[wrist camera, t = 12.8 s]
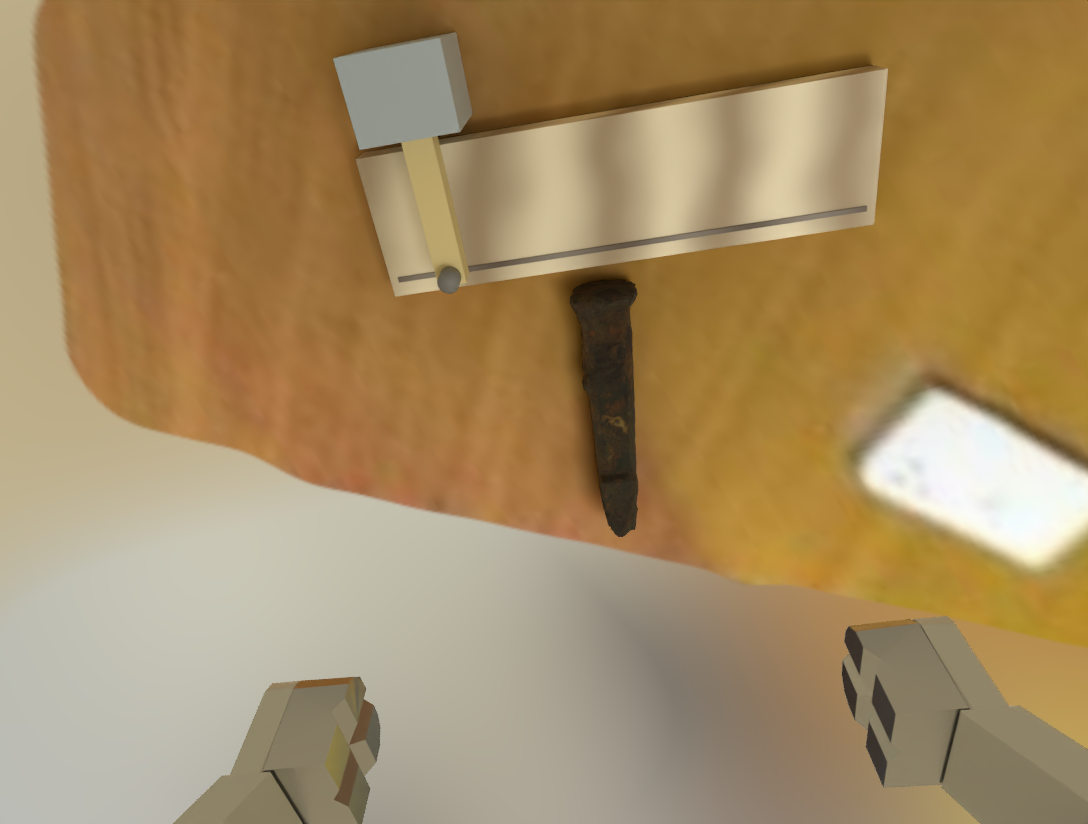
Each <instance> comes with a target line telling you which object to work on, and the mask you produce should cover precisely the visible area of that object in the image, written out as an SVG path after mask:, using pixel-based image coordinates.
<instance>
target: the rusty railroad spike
mask: <svg viewBox="0 0 1088 824" xmlns="http://www.w3.org/2000/svg"><path fill="white" fill-rule="evenodd" d="M636 296H637V289H636V288H635V284H634V283H632V282H627V281H625V280H614V281H613V280H610V281H609V280H601V281H594V282H590V283H587V284H583V285H580V286H578V287H576V288H575V289H574V290H573V294H572V296H571V297H570V304H571V307H572V308H573V310H574V311H575V313H576V314H577V318H578V320H579V322H580V324H581V336H582V346H581V347H582V357H583V362H582V368H583V370H584V376H583V381H582V383H583V387H584V389H585V390H586V391H587V393H588V396H589V403H590V408H591V417H592V424H593V433H594V442H595V451H596V461H597V469H598V474H599V483H600V492H601V498H602V503H603V507H604V511H605V515H606V518H607V522H608V525H609V526H610V527H611V529H612V530H613V531H614V533H615V535H617V536H618V537H623V536H625V535H626V534H627V533H628V532H629V531H631V530H633V529H634V530H635V527H636V516H637V510H638V508H637V505H636V503H637V494H638V479H637V475H636V448H635V407H634V380H633V355H632V329H631V322H630V306H631V305H632V304H633V302H634V301H635V299H636Z"/></svg>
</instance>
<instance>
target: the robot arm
mask: <svg viewBox="0 0 1088 824" xmlns="http://www.w3.org/2000/svg"><path fill="white" fill-rule="evenodd" d="M844 642H845V644H846V647H847V649H848V651H849V653H850V654H849V655H847V657H845V658H844V659H843V661H842V678H843V686H844V691H845V695H846V698H847V702H848V705H849V707H850V710H851V712H852V715H853V717H854V720H855V721H857V722H858V723H859V724H860V725H862V726H863V727H864V728H865V729H867V730H868V733H867V741H866V748H867V750H868V753H869V755H870V757H871V760H872V762H873V764H874V767H875V769H876V771H877V774H878V776H879V778H880V781H881V783H882V785H883V787H884V788H887V787H905V786H924V785H942V789H944V790H945V791H946V792H947V793H948V794H949V795H950V796H951V797H952V798H953V799H955V801H957V802H958V803H959V804H960V805H961V806H962V807H963V808H964V809H965V810H966V811H968V812H969V813H970V814H971V815H972V816H973V817H974V818H975V819H976V820H977V821H978V822H979V823H981V824H1088V749H1087V748H1085V747H1083V746H1082V745H1080V744H1079V743H1077V742H1075V741H1074V740H1073V739H1071V738H1070V737H1068V736H1067V735H1065V734H1063V733H1062V732H1060V731H1059V730H1057V729H1056V728H1054V727H1052V726H1051V725H1049V724H1048V723H1046V722H1045V721H1043V720H1042V719H1040V718H1038V717H1037V716H1035V715H1034V714H1032V713H1031V712H1029V711H1028V710H1026V709H1024V708H1023V707H1021V706H1009V705H1008V703H1007V702H1006V700H1005V699H1004V697H1003V696H1002V694H1001V693H1000V691H999V690H998V688H997V686H996V685H995V683H994V682H993V680H992V679H991V678H990V676H989V674H988V673H987V671H986V670H985V668H984V667H983V665H982V664H981V662H980V661H979V659H978V658H977V656H976V655H975V653H974V652H973V650H972V648H971V647H970V645H969V644H968V642H967V641H966V639H965V638H964V636H963V635H962V634H961V632H960V630H959V629H958V627H957V626H956V624H955V623H954V621H952V620H951V619H950V618H949V617H947V616H942V617H933V618H923V619H914V620H911V619H906V620H898V621H889V622H881V623H872V624H863V625H854V626H849V627H848V628H847V630H846V632H845V641H844ZM365 692H366V687H365V685H364V684H363V682H362V680H361V678H360V677H347V678H333V679H321V680H305V681H294V682H283V683H273V684H272V685H271V686H270V687H269V688H268V689H267V690H266V691H265V693H264V695H263V697H262V700H261V702H260V705H259V707H258V710H257V712H256V714H255V717H254V719H253V721H252V724H251V726H250V729H249V731H248V733H247V736H246V738H245V741H244V743H243V746H242V748H241V750H240V753H239V755H238V757H237V760H236V762H235V765H234V767H233V769H232V772H231V774H230V775H225V776H221V777H220V778H219V779H218V780H217V781H216V782H215V783H214V784H213V785H212V786H211V787H210V788H209V789H208V790H207V791H206V792H205V793H204V794H203V795H202V796H201V797H200V798H199V799H198V800H197V801H196V802H195V803H194V804H193V805H192V806H190V807H189V808H188V809H187V810H186V811H185V812H184V813H183V814H182V815H181V816H180V817H179V818H178V819H177V820H176V821H175V822H174V823H173V824H362V822H363V817H364V813H365V809H366V804H367V800H368V796H369V792H370V787H369V785H368V783H367V781H366V779H365V777H364V776H365V775H366V774H367V772H368V771H369V770H370V769H371V768H372V767H373V766H374V764H375V763H376V761H377V756H378V752H379V747H380V723H379V718H378V714H377V711H376V709H375V707H374V705H372V704H371V703H369V702H367V701H366V700H364V696H365Z"/></svg>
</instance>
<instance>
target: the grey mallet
mask: <svg viewBox="0 0 1088 824" xmlns="http://www.w3.org/2000/svg"><path fill="white" fill-rule="evenodd" d="M333 60H334V64H335V67H336V71H337V74H338V77H339V81H340V84H341V88H342V91H343V95H344V98H345V101H346V105H347V108H348V112H349V115H350V119H351V122H352V125H353V129H354V132H355V136H356V139H357V143H358V146H359V149H360V150H362V149H368V148H373V147H379V146H385V145H390V144H396V143H401V144H402V148H403V152H404V156H405V160H406V163H407V167H408V171H409V175H410V179H411V183H412V187H413V190H414V194H415V198H416V202H417V206H418V210H419V213H420V217H421V221H422V225H423V229H424V233H425V236H426V240H427V244H428V248H429V252H430V256H431V259H432V263H433V267H434V271H435V275H436V279H437V285H438V287H439V289H440V290H441V291H442V292H444V293H448V294H450V293H454V292H455V291H457V289H458V287H459V285H460V284H463V283H467V280H468V276H469V269H468V265H467V260H466V256H465V252H464V247H463V243H462V239H461V235H460V230H459V226H458V222H457V217H456V213H455V209H454V205H453V200H452V196H451V192H450V187H449V183H448V179H447V175H446V170H445V166H444V162H443V157H442V153H441V149H440V145H439V140H438V136H440V135H446V134H452V133H457V132H461V130H462V129H463V127H464V126H465V124H466V123H467V121H468V120H469V118H470V117H471V115H472V114H473V113H472V108H471V103H470V98H469V93H468V88H467V83H466V78H465V73H464V69H463V64H462V59H461V54H460V49H459V44H458V39H457V34H456V32H453V33H448V34H443V35H437V36H432V37H427V38H422V39H417V40H412V41H406V42H401V43H396V44H391V45H386V46H381V47H375V48H370V49H365V50H361V51H358V52H354V53H350V54H347V55H343V56H340V57H336V58H333Z"/></svg>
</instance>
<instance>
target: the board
mask: <svg viewBox="0 0 1088 824" xmlns="http://www.w3.org/2000/svg"><path fill="white" fill-rule="evenodd" d="M887 75H888V69H887V68H883V67H878V66H873V65H871V66H865V67H859V68H854V69H848V70H842V71H836V72H830V73H824V74H819V75H813V76H807V77H801V78H795V79H789V80H783V81H778V82H772V83H766V84H760V85H754V86H748V87H743V88H737V89H731V90H725V91H719V92H713V93H707V94H702V95H696V96H690V97H684V98H678V99H672V100H667V101H661V102H655V103H649V104H643V105H637V106H631V107H626V108H620V109H614V110H608V111H602V112H596V113H591V114H585V115H579V116H573V117H567V118H561V119H555V120H550V121H544V122H538V123H532V124H526V125H520V126H515V127H509V128H503V129H497V130H491V131H485V132H479V133H474V134H468V135H462V136H456V137H450V138H444V139H439V145H440V149H441V153H442V157H443V162H444V166H445V170H446V175H447V179H448V183H449V187H450V192H451V196H452V200H453V205H454V209H455V213H456V217H457V222H458V226H459V230H460V235H461V239H462V243H463V247H464V252H465V256H466V260H467V265H468V269H469V276H468V280H467V283H463V284H460V285H459V287H462V286H469V285H476V284H482V283H489V282H495V281H502V280H509V279H515V278H522V277H529V276H535V275H542V274H549V273H555V272H562V271H569V270H575V269H582V268H588V267H595V266H602V265H608V264H615V263H622V262H628V261H635V260H642V259H648V258H655V257H662V256H668V255H675V254H681V253H688V252H695V251H701V250H708V249H715V248H721V247H728V246H735V245H741V244H748V243H754V242H761V241H768V240H774V239H781V238H788V237H794V236H801V235H808V234H814V233H821V232H828V231H834V230H841V229H847V228H854V227H861V226H867V225H874V219H875V208H876V197H877V186H878V175H879V164H880V153H881V141H882V130H883V119H884V108H885V97H886V86H887ZM355 160H356V163H357V167H358V170H359V174H360V177H361V181H362V184H363V187H364V191H365V194H366V198H367V201H368V205H369V208H370V212H371V215H372V219H373V222H374V225H375V229H376V232H377V236H378V239H379V243H380V246H381V250H382V253H383V256H384V260H385V263H386V267H387V270H388V274H389V277H390V281H391V284H392V287H393V291H394V294H395V297H396V296H403V295H409V294H416V293H422V292H429V291H436V290H440V289H439V287H438V285H437V279H436V275H435V271H434V267H433V263H432V259H431V256H430V252H429V248H428V244H427V240H426V236H425V233H424V229H423V225H422V221H421V217H420V213H419V210H418V206H417V202H416V198H415V194H414V190H413V187H412V183H411V179H410V175H409V171H408V167H407V163H406V160H405V156H404V152H403V148H402V146H398V147H392V148H386V149H380V150H374V151H368V152H364V153H362V154H361V155H360V156H359V157H358V158H356V159H355Z"/></svg>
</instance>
